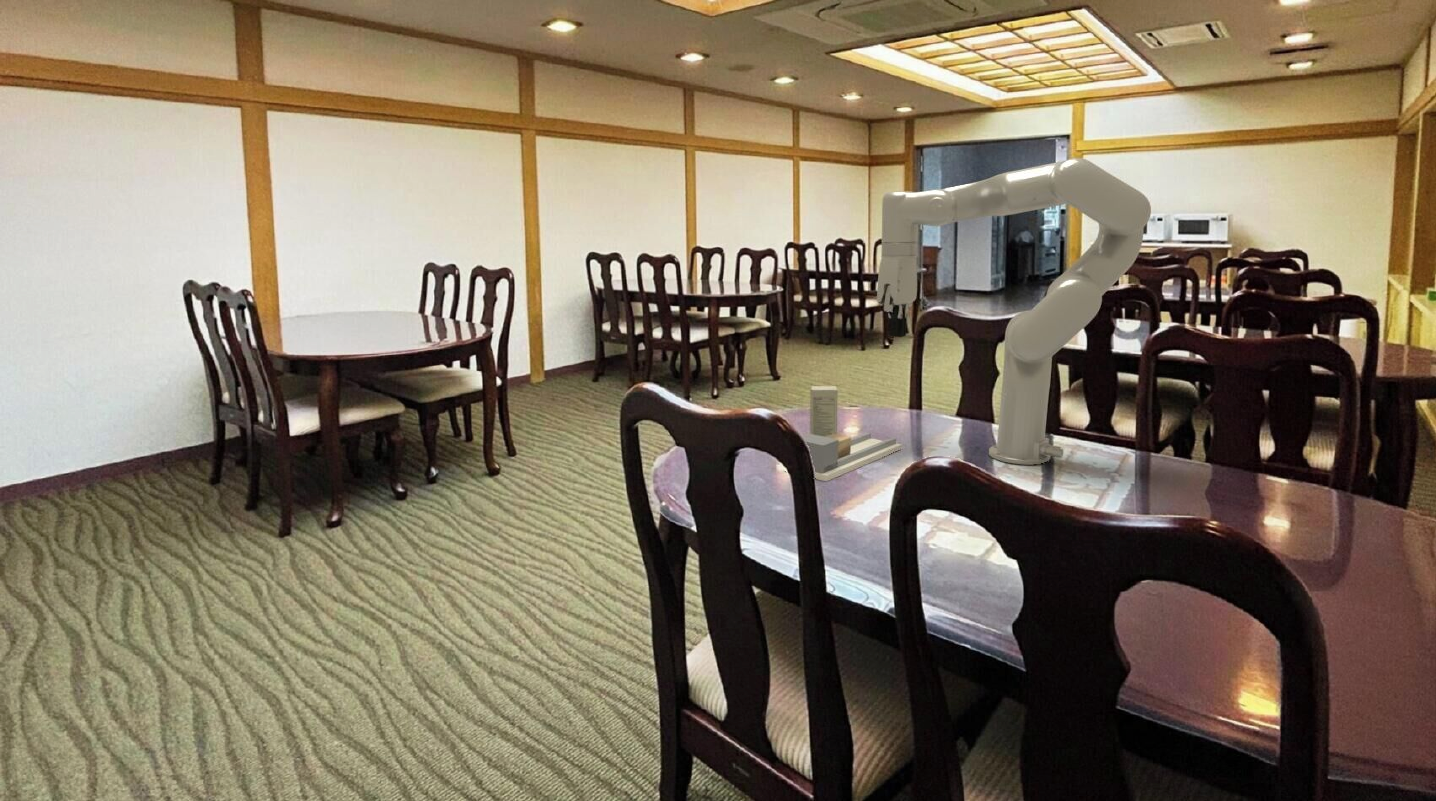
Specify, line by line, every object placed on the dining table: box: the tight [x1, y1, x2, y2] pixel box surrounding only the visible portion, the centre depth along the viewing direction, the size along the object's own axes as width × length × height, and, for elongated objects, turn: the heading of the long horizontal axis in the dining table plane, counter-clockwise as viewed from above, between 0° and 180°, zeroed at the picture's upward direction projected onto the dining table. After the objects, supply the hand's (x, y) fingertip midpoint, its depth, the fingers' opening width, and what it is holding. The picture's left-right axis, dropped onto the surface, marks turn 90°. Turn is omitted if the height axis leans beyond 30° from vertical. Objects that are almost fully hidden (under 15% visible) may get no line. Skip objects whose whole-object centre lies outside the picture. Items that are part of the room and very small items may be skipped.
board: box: [802, 432, 902, 482], centre depth 181 cm, size 10×30×7 cm, turn 140°
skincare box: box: [809, 385, 839, 437], centre depth 197 cm, size 6×4×12 cm
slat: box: [827, 433, 852, 459], centre depth 176 cm, size 4×12×4 cm, turn 139°
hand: (897, 336), depth 187 cm, fingers closed
